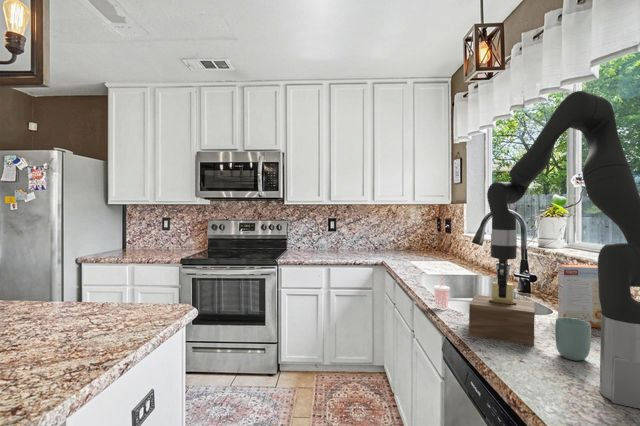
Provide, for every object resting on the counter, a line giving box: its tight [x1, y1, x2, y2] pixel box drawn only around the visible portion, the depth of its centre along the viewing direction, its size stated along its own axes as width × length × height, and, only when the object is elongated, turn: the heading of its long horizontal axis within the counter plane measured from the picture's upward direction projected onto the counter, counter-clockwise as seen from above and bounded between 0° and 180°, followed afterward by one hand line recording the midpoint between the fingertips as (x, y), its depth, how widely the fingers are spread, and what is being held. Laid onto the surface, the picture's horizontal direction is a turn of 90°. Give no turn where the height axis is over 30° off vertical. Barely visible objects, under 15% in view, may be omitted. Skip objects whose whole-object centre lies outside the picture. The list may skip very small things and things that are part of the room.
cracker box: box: [557, 264, 601, 329], centre depth 129 cm, size 14×6×21 cm, turn 76°
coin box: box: [468, 294, 536, 347], centre depth 120 cm, size 15×18×10 cm
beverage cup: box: [433, 273, 451, 310], centre depth 148 cm, size 6×6×14 cm
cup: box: [554, 317, 592, 362], centre depth 100 cm, size 8×8×10 cm
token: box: [491, 281, 514, 304], centre depth 120 cm, size 2×6×6 cm, turn 60°
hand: (502, 296), depth 120 cm, fingers closed on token, 2 cm apart
